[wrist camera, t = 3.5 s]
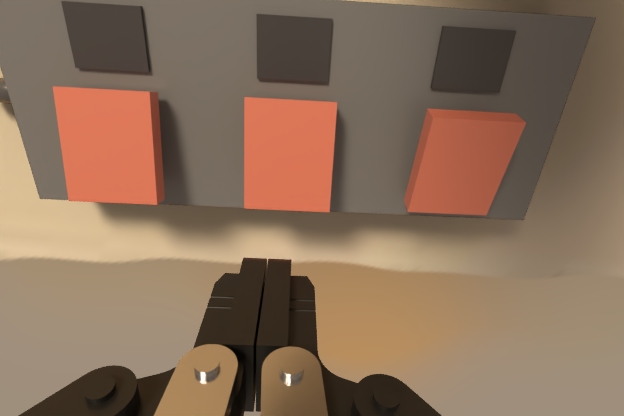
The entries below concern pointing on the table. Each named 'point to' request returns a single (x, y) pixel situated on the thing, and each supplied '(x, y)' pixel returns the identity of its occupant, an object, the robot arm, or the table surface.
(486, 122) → the block
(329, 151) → the block
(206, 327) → the robot arm
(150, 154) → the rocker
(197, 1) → the power strip
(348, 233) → the table surface
